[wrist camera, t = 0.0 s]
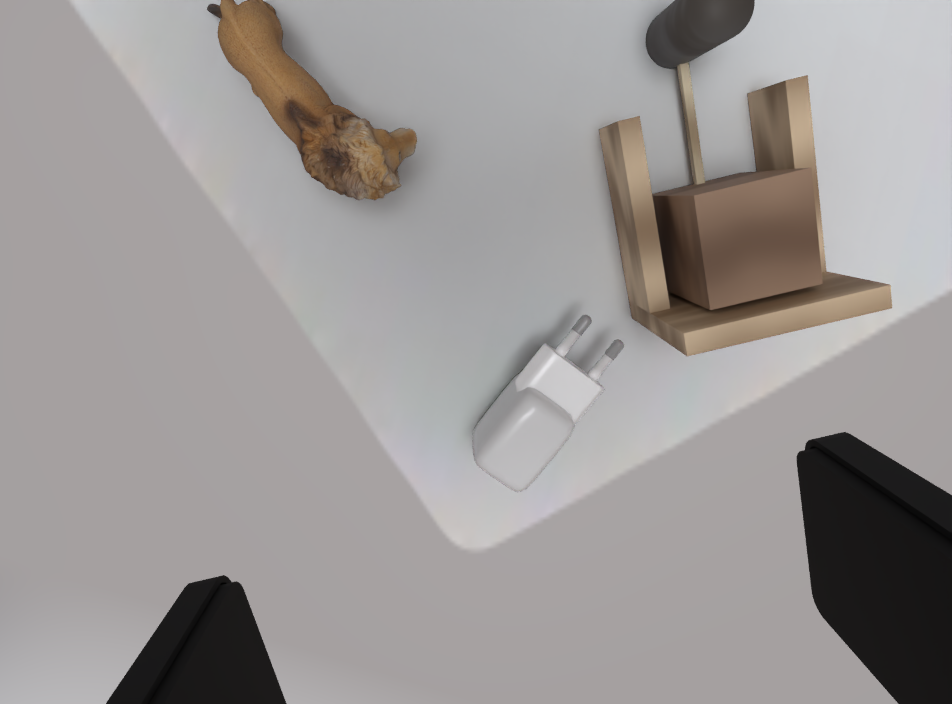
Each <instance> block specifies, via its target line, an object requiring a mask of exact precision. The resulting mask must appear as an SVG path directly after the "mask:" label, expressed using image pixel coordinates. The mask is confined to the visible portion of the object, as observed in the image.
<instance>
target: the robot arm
mask: <svg viewBox="0 0 952 704" xmlns="http://www.w3.org/2000/svg"><path fill="white" fill-rule="evenodd" d="M797 467H798V477H799V485H800V494H801V502H802V511H803V520H804V528H805V536H806V546H807V554H808V563H809V572H810V580H811V589H812V595H813V599H814V602H815V604H816V606H817V609H818V610H819V612H820V614H821V615H822V617H823V618H824V619H825V620H826V621H827V623H828V624H829V625H830V626H831V627H832V628H833V629H834V631H835V632H836V633H837V634H838V635H839V636H840V637H841V639H842V640H843V641H844V642H845V643H846V644H847V645H848V646H849V648H850V649H851V650H852V651H853V652H854V653H855V654H856V656H857V657H858V658H859V659H860V660H861V661H862V662H863V664H864V665H865V666H866V667H867V668H868V669H869V670H870V672H871V673H872V674H873V675H874V676H875V677H876V679H877V680H878V681H879V682H880V683H881V684H882V685H883V687H884V688H885V689H886V690H887V691H888V692H889V693H890V695H891V696H892V697H893V698H894V699H895V700H896V701H897V702H898V704H952V495H950V494H949V493H947V492H945V491H944V490H942V489H940V488H939V487H937V486H935V485H934V484H932V483H930V482H929V481H927V480H925V479H924V478H922V477H920V476H919V475H917V474H916V473H914V472H912V471H910V470H909V469H907V468H906V467H904V466H902V465H900V464H899V463H897V462H896V461H894V460H892V459H891V458H889V457H887V456H886V455H884V454H882V453H881V452H879V451H877V450H876V449H874V448H872V447H871V446H869V445H867V444H866V443H864V442H862V441H861V440H859V439H857V438H856V437H854V436H852V435H851V434H849V433H846V432H843V433H838V434H834V435H829V436H825V437H821V438H816V439H812V440H809V441H808V442H807V443H806V446H805V450H804V451H800V452H799V453H798V455H797ZM106 704H286V701H285V699H284V696H283V694H282V691H281V688H280V686H279V683H278V680H277V677H276V675H275V672H274V669H273V667H272V664H271V661H270V659H269V656H268V653H267V651H266V648H265V645H264V643H263V640H262V637H261V635H260V632H259V629H258V626H257V624H256V621H255V618H254V616H253V613H252V610H251V608H250V605H249V602H248V600H247V597H246V595H245V592H244V589H243V587H242V586H241V584H240V583H239V582H231V581H230V580H229V578H228V577H226V576H224V575H223V576H219V577H215V578H211V579H206V580H202V581H197V582H193V583H189V584H188V585H187V586H186V587H185V588H184V590H183V591H182V592H181V594H180V595H179V597H178V598H177V600H176V601H175V603H174V604H173V606H172V607H171V609H170V610H169V612H168V613H167V615H166V616H165V617H164V619H163V621H162V622H161V623H160V625H159V626H158V628H157V630H156V631H155V632H154V634H153V635H152V637H151V638H150V640H149V641H148V642H147V644H146V646H145V647H144V648H143V650H142V651H141V653H140V654H139V656H138V657H137V659H136V660H135V662H134V663H133V665H132V666H131V668H130V669H129V671H128V672H127V673H126V675H125V676H124V678H123V679H122V681H121V682H120V684H119V685H118V687H117V688H116V690H115V691H114V692H113V694H112V696H111V697H110V698H109V700H108V701H107V703H106Z"/></svg>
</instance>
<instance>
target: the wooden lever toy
mask: <svg viewBox="0 0 952 704" xmlns="http://www.w3.org/2000/svg"><path fill="white" fill-rule="evenodd" d="M753 10H754V0H675V1H674V2H673V3H672V4H670V5H669V6H668V7H667V8H666V9H665V10H664V11H662V12H661V13H660V14H659V15H658V16H657V17H656V18H655V19H654V20H653V21H652V22H651V24H650V26H649V28H648V31H647V34H646V47H647V51H648V53H649V55H650V57H651V59H652V60H653V61H654V62H655V63H656V64H658V65H659V66H662V67H664V68H677V70H678V77H679V84H680V91H681V98H682V105H683V112H684V119H685V126H686V133H687V140H688V147H689V154H690V161H691V168H692V175H693V182H694V184H692V185H688V186H683V187H679V188H675V189H671V190H667V191H663V192H658V193H654V194H652V197H653V204H654V210H655V216H656V222H657V229H658V235H659V241H660V247H661V254H662V260H663V266H664V272H665V279H666V285H667V291H669V292H671V293H673V294H675V295H677V296H680V297H682V298H684V299H686V300H689V301H691V302H693V303H695V304H698V305H700V306H702V307H704V308H706V309H709V310H714V309H718V308H722V307H726V306H731V305H735V304H739V303H743V302H747V301H752V300H756V299H760V298H764V297H769V296H773V295H777V294H781V293H786V292H790V291H794V290H798V289H803V288H807V287H811V286H815V285H819V284H823V281H822V270H821V260H820V250H819V239H818V229H817V219H816V208H815V198H814V188H813V178H812V167H811V168H797V169H784V170H771V171H757V172H744V173H738V174H733V175H729V176H725V177H721V178H717V179H713V180H708V181H705V178H704V171H703V164H702V157H701V149H700V142H699V135H698V128H697V120H696V113H695V106H694V99H693V92H692V84H691V77H690V70H689V63H688V62H690V61H692V60H693V59H695V58H697V57H699V56H701V55H702V54H704V53H706V52H708V51H709V50H711V49H713V48H715V47H717V46H718V45H720V44H722V43H724V42H726V41H727V40H729V39H731V38H733V37H734V36H736V35H738V34H739V33H740V32H741V31H742V30H743V29H744V28H745V27H746V26H747V24H748V23H749V21H750V19H751V16H752V14H753Z"/></svg>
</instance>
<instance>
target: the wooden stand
mask: <svg viewBox="0 0 952 704" xmlns="http://www.w3.org/2000/svg"><path fill="white" fill-rule="evenodd" d="M748 102H749V111H750V119H751V128H752V136H753V144H754V153H755V161H756V170H757V171H771V170H784V169H797V168H811V167H812V178H813V188H814V198H815V208H816V219H817V229H818V239H819V250H820V260H821V270H822V281H823V284H819V285H815V286H811V287H807V288H803V289H798V290H794V291H790V292H786V293H781V294H777V295H773V296H769V297H764V298H760V299H756V300H752V301H747V302H743V303H739V304H735V305H731V306H726V307H722V308H718V309H714V310H709V309H706V308H704V307H702V306H700V305H698V304H695V303H693V302H691V301H689V300H686V299H684V298H682V297H680V296H677V295H675V294H673V293H671V292H669V291H667V285H666V279H665V272H664V266H663V260H662V254H661V247H660V241H659V235H658V229H657V222H656V216H655V210H654V204H653V197H652V191H651V185H650V178H649V172H648V166H647V160H646V153H645V147H644V141H643V135H642V128H641V122H640V116H638V117H634V118H630V119H626V120H622V121H618V122H615V123H613V124H611V125H609V126H606V127H604V128H602V129H599V133H600V138H601V144H602V150H603V156H604V161H605V167H606V173H607V178H608V184H609V190H610V195H611V201H612V207H613V212H614V218H615V224H616V230H617V235H618V241H619V247H620V252H621V258H622V264H623V269H624V275H625V281H626V286H627V292H628V298H629V304H630V309H631V315H632V319H634V320H635V321H637V322H638V323H640V324H641V325H643V326H644V327H646V328H647V329H648V330H650V331H651V332H653V333H654V334H656V335H657V336H659V337H660V338H661V339H663V340H664V341H666V342H667V343H669V344H670V345H672V346H673V347H675V348H676V349H677V350H679V351H680V352H682V353H683V354H685V355H686V356H690V355H695V354H699V353H703V352H707V351H712V350H716V349H720V348H724V347H729V346H733V345H737V344H742V343H746V342H750V341H754V340H759V339H763V338H767V337H771V336H776V335H780V334H784V333H788V332H793V331H797V330H801V329H805V328H810V327H814V326H818V325H822V324H827V323H831V322H835V321H840V320H844V319H848V318H852V317H857V316H861V315H865V314H869V313H874V312H878V311H882V310H886V309H891V308H892V300H891V286H890V285H889V284H884V283H879V282H874V281H870V280H865V279H860V278H855V277H850V276H845V275H840V274H836V273H831V272H826V263H825V253H824V242H823V232H822V221H821V211H820V200H819V190H818V179H817V169H816V158H815V148H814V137H813V127H812V116H811V106H810V95H809V85H808V75H807V76H802V77H798V78H794V79H790V80H786V81H783V82H780V83H777V84H774V85H771V86H768V87H765V88H762V89H760V90H757V91H754V92H751V93H748Z"/></svg>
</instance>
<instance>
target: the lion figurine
mask: <svg viewBox="0 0 952 704" xmlns="http://www.w3.org/2000/svg"><path fill="white" fill-rule="evenodd" d="M207 10H208V11H209V12H211V13H212V14H214V15H215V16H217V17H219V18H222V19H221V20H220V22H219V26H218V38H219V42H220V45H221V48H222V51H223V53H224V55H225V57H226V59H227V60H228V62H229V63H230V64H231V65H232V67H233V68H234V69H236V70H237V71H238V72H240V73H242V74H243V75H244V76H245V77H246V78H247V79H248V81H249V82H250V84H251V86H252V90H253V92H254V94H255V95H256V96H258V97H260V99H261V100H262V102H263V104H264V105H265V107H266V108H267V110H268V111H269V113H270V115H271V116H272V118H273V119H274V121H275V122H276V123H277V125H278V126H279V127H280V128H281V129H282V131H283V132H284V133H285V134H286V135H287V136H288V137H289V138H290V139H291V140H292V141H293V142H294V143H295V144H296V145H297V148H298V151H299V153H300V154H301V158H302V162H303V164H304V167H305V170H306V171H307V172H308V173H309V174H310V175H311V177H312V178H314V179H315V180H317V181H320V182H321V183H322V184H324V185H325V187H326V188H327V189H329V190H333V191H336V192H337V193H339V194H341V195H343V194H345V195H346V196H347V197H353V198H355V199H356V200H361V199H363V198H366V199H374V200H376V199H378V198H383V197H384V195H385V194H387V193H389V192H391V191H394V190H396V189H397V188H399V187H400V186H401V184H400V183H399V176H398V171H397V168H398V166H399V165H400V163H401V162H402V161H403V160H404V159H405V158H406V157H409V156H411V155H412V154H413V153H414V151H415V148H416V143H417V137H416V133H415V132H414V131H413V130H412V129H405V128H399V129H397V130H395V131H393V132H391V133H389V132H387V131H386V130H383V129H374V128H373V127H372V126H371V125H370V123H369V121H367V120H366V119H360V118H359V117H357V116H356V115H355V114H353V113H352V112H351V111H349V110H348V109H346V108H343V107H341V106H338V105H334V104H333V103H332V102H331V100H330V98H329V96H328V95H327V93H326V92H325V91H324V90H323V88H322V87H321V86H320V85H319V83H318V82H317V81H316V80H315V79H314V78H313V77H312V76H311V75H310V74H309V73H307V72H306V71H305V70H304V69H303V68H302V67H301V66H300V65H299V64H298V63H297V62H295V61H294V60H293V59H291V58H290V57H289V56H288V55H287V54H286V53H285V52H284V50H283V48H282V44H281V42H282V37H283V31H282V28H281V24H280V22H279V20H278V18H277V17H276V11H275V9H274V8H273V7H272V6H270V5H269V4H268V3H266V2H264V1H263V0H247V1H244V2H242V3H241V4H240V5H237V4H235V2H234V0H221V4H220V6H219V5H216V4H210V5H209V6H208V7H207Z"/></svg>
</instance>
